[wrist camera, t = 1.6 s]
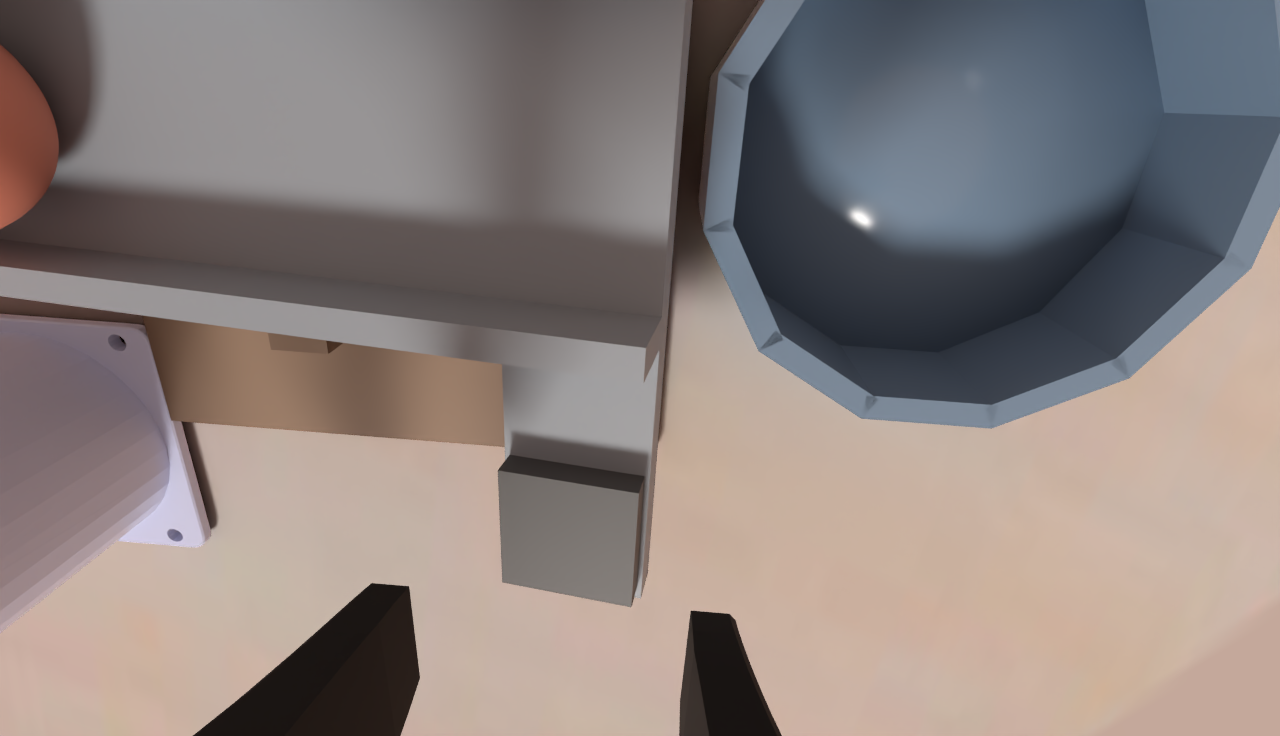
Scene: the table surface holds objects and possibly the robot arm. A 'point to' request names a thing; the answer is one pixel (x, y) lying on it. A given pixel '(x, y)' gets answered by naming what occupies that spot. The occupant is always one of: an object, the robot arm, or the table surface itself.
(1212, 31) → the bowl
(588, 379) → the lever
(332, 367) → the catapult base
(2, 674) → the table surface
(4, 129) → the ball
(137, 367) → the robot arm
